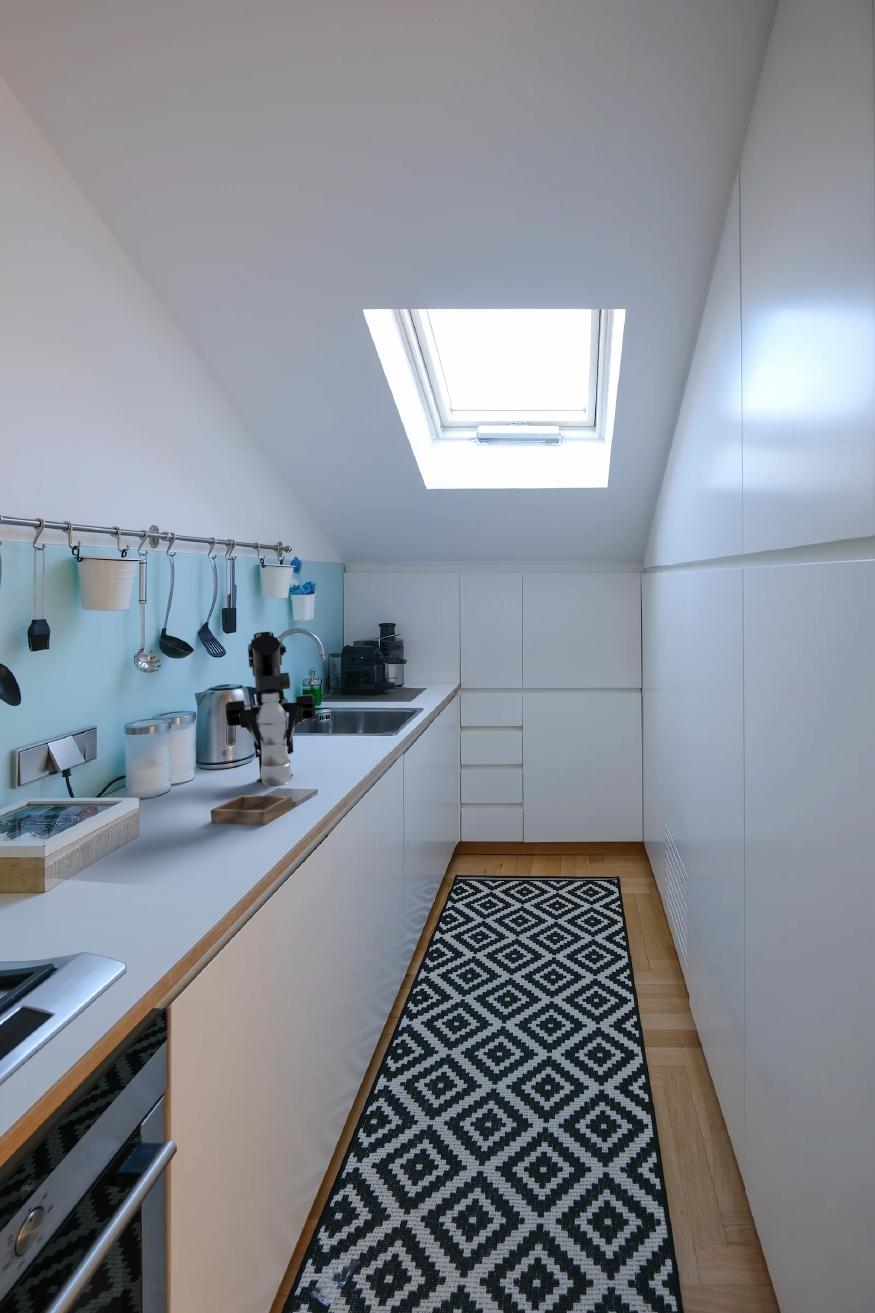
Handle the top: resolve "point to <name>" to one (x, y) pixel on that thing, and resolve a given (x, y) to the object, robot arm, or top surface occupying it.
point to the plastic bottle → (273, 741)
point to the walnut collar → (235, 815)
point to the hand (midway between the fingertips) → (273, 742)
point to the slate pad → (294, 794)
